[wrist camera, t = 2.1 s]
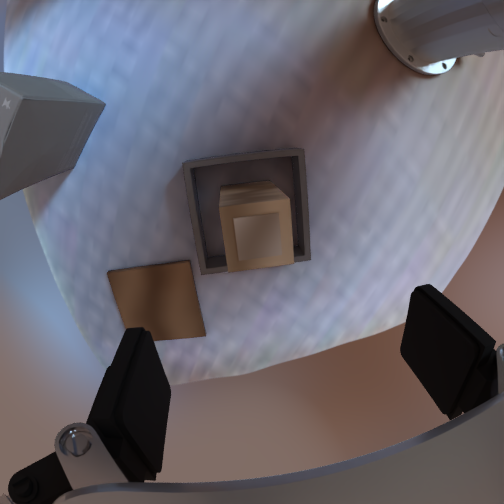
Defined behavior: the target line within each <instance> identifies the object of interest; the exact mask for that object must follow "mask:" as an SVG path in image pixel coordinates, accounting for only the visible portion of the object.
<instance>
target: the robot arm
mask: <svg viewBox="0 0 504 504" xmlns="http://www.w3.org/2000/svg"><path fill="white" fill-rule="evenodd" d="M374 18H375V23H376V26H377V29H378V32H379V34H380V35H381V37H382V39H383V41H384V42H385V44H386V45H387V47H388V48H389V50H390V51H391V52H392V53H393V54H394V55H395V56H396V57H397V58H398V59H399V60H400V61H401V62H402V63H403V64H405V65H406V66H408V67H409V68H411V69H413V70H415V71H417V72H419V73H422V74H425V75H438V74H442V73H445V72H447V71H448V70H450V69H451V68H452V66H453V65H454V63H455V61H456V58H458V57H463V56H468V55H473V54H474V55H477V56H479V57H483V56H484V54H485V52H491V51H498V50H504V0H376V2H375V5H374ZM495 343H496V341H495V340H494V339H493V338H492V337H491V336H490V335H489V334H488V333H487V332H485V331H484V330H483V329H482V328H481V327H480V326H479V325H478V324H477V323H476V322H474V321H473V320H472V319H471V318H470V317H469V316H467V315H466V314H465V313H464V312H463V311H462V310H461V309H460V308H458V307H457V306H456V305H455V304H454V303H452V302H451V301H450V300H449V299H448V298H447V297H445V296H444V295H443V294H442V293H441V292H439V291H438V290H437V289H436V288H434V287H433V286H432V285H430V284H426V285H422V286H417V287H416V288H415V289H414V291H413V292H412V293H411V297H410V303H409V309H408V314H407V319H406V324H405V329H404V334H403V338H402V343H401V347H400V351H401V355H402V357H403V358H404V360H405V361H406V363H407V364H408V365H409V367H410V368H411V369H412V371H413V372H414V374H415V375H416V376H417V378H418V379H419V380H420V382H421V383H422V385H423V386H424V388H425V389H426V390H427V392H428V393H429V395H430V396H431V397H432V399H433V400H434V402H435V403H436V405H437V406H438V408H439V409H440V411H441V412H442V413H443V414H446V415H447V416H448V418H449V419H450V420H451V421H449V422H447V423H445V424H443V425H440V426H438V427H436V428H434V429H432V430H430V431H428V432H425V433H423V434H420V435H418V436H416V437H413V438H411V439H408V440H406V441H403V442H401V443H398V444H396V445H393V446H390V447H387V448H384V449H382V450H379V451H376V452H373V453H369V454H367V455H363V456H360V457H357V458H353V459H350V460H347V461H342V462H339V463H335V464H331V465H327V466H322V467H318V468H314V469H309V470H304V471H299V472H294V473H288V474H283V475H276V476H269V477H262V478H254V479H245V480H233V481H220V482H200V483H144V480H154V481H155V480H156V473H160V472H161V469H162V460H163V451H164V444H165V435H166V427H167V419H168V412H169V405H170V398H171V389H170V385H169V382H168V380H167V377H166V375H165V372H164V369H163V367H162V364H161V361H160V358H159V355H158V353H157V350H156V347H155V344H154V341H153V338H152V335H151V333H150V331H145V329H144V327H134V328H127V329H126V331H125V333H124V335H123V338H122V340H121V342H120V345H119V347H118V349H117V352H116V354H115V357H114V359H113V361H112V364H111V366H109V367H108V368H107V370H106V372H105V375H104V377H103V380H102V383H101V385H100V387H99V390H98V393H97V395H96V398H95V400H94V403H93V406H92V409H91V411H90V414H89V417H88V419H87V422H86V424H85V423H73V424H70V425H67V426H66V427H64V428H63V429H62V430H61V431H60V432H59V433H58V434H57V436H56V439H55V444H54V446H55V452H54V453H52V454H50V455H48V456H46V457H45V458H43V459H41V460H39V461H37V462H35V463H33V464H31V465H30V466H28V467H26V468H24V469H22V470H20V471H18V472H17V473H16V474H14V475H13V476H12V478H11V479H10V482H9V485H8V492H9V495H8V496H6V495H5V494H3V495H2V496H1V497H0V504H504V344H502V345H500V346H499V347H498V348H497V350H496V351H495V350H494V349H493V348H494V346H495ZM462 412H464V414H463V415H461V414H462ZM459 415H461V416H459ZM458 416H459V417H458ZM456 417H457V418H456ZM454 418H455V419H454ZM452 419H453V420H452Z"/></svg>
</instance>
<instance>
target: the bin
mask: <svg viewBox="0 0 504 504" xmlns="http://www.w3.org/2000/svg"><path fill="white" fill-rule="evenodd" d="M287 156H292V167H293V178H294V191H295V204H296V218H297V234H298V246H293V252H294V262H301V261H308V260H311V253H310V230H309V211H308V195H307V180H306V167H305V155H304V149H302V148H289V149H277V150H266V151H256V152H247V153H239V154H231V155H223V156H216V157H209V158H202V159H195V160H189V161H185V162H183V163H182V164H183V171H184V178H185V184H186V191H187V197H188V203H189V209H190V215H191V221H192V227H193V233H194V238H195V244H196V249H197V255H198V260H199V265H200V271H201V275H205V274H213V273H220V272H228V266H227V260H226V255H223V256H215V257H207V251H206V245H205V239H204V233H203V227H202V221H201V215H200V209H199V202H198V196H197V189H196V182H195V175H194V168H195V167H202V166H209V165H216V164H223V163H231V162H239V161H247V160H256V159H265V158H276V157H287Z"/></svg>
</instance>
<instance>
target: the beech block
mask: <svg viewBox="0 0 504 504" xmlns="http://www.w3.org/2000/svg"><path fill="white" fill-rule="evenodd" d="M219 212H220V219H221V226H222V233H223V240H224V247H225V253H226V260H227V266H228V273H229V272H236V271H244V270H251V269H259V268H266V267H273V266H281V265H288V264H294V252H293V236H292V222H291V208H290V198H288V197H287V196H286V195H285V194H284V193H283V192H282V191H281V190H280V189H279V188H278V187H277V186H275V185H274V184H273V183H272V182H271V181H270V180H267V181H258V182H249V183H241V184H233V185H226V186H221V190H220V200H219Z"/></svg>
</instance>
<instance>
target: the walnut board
mask: <svg viewBox="0 0 504 504" xmlns="http://www.w3.org/2000/svg"><path fill="white" fill-rule="evenodd" d="M107 275H108V278H109V282H110V285H111V288H112V291H113V294H114V297H115V300H116V303H117V306H118V309H119V311H120V314H121V317H122V320H123V322H124V325H125V328H126V329H127V328H134V327H144V329H145V331H150V333H151V335H152V338H153V341H159V340H172V339H183V338H194V337H203V336H206V332H205V327H204V323H203V319H202V315H201V310H200V306H199V301H198V297H197V292H196V288H195V283H194V278H193V273H192V268H191V263H190V260H185V261H178V262H170V263H163V264H155V265H148V266H140V267H133V268H125V269H118V270H111V271H108V272H107Z"/></svg>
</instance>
